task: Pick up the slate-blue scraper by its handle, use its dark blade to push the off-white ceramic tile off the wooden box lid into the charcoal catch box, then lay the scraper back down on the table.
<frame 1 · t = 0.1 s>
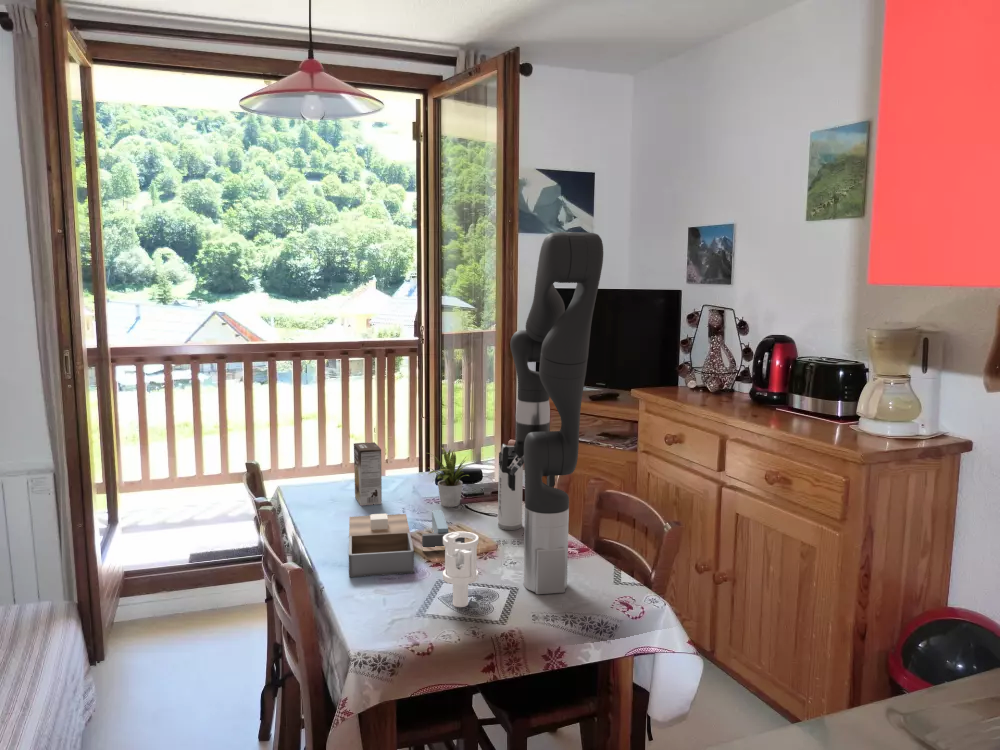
hand: (531, 489, 174), 17 cm above the table, tool pointing down, fingers open, 8 cm apart
white slotted cylindrical fitting: (460, 604, 154), on the table
travel mug: (510, 526, 200), on the table
wooden box lid: (379, 544, 186), on the table
catch box: (380, 564, 173), on the table
coffee box: (368, 501, 221), on the table
tile: (379, 526, 184), point 5 cm above the table, touching wooden box lid
house plant: (446, 503, 219), on the table
scraper: (439, 538, 191), on the table
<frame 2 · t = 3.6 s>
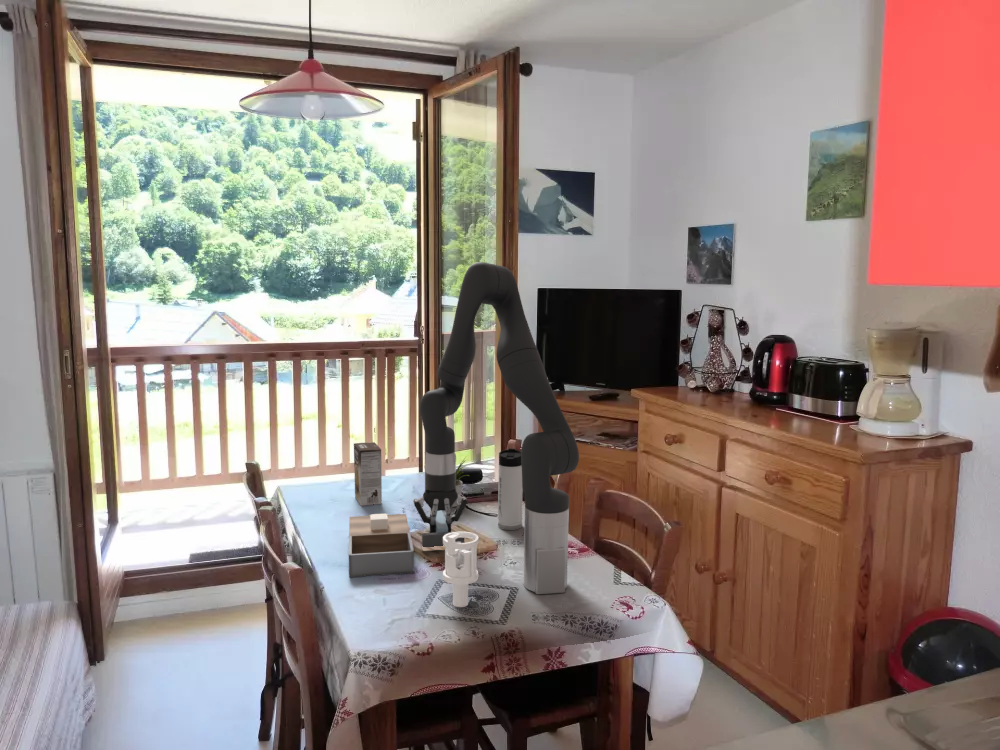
hand: (440, 537, 189), 1 cm above the table, tool pointing down, fingers closed on scraper, 2 cm apart
scraper: (439, 538, 191), on the table, touching gripper
everything else where it was.
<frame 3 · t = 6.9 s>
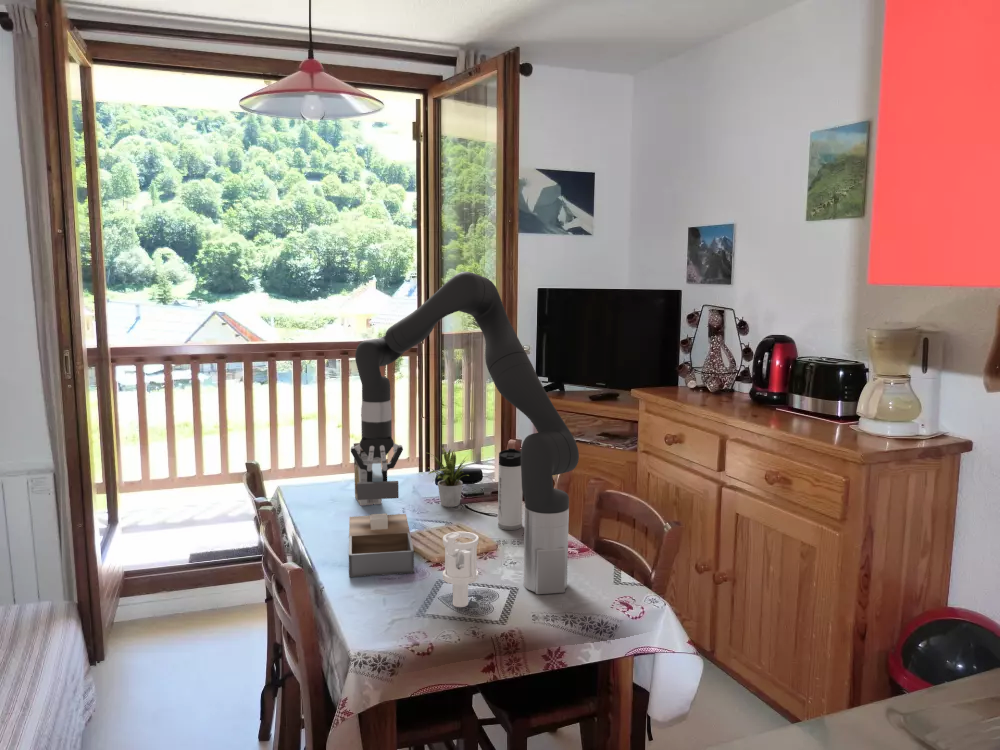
hand: (377, 484, 196), 12 cm above the table, tool pointing down, fingers closed on scraper, 2 cm apart
scraper: (377, 489, 198), point 10 cm above the table, touching gripper
everything else where it was.
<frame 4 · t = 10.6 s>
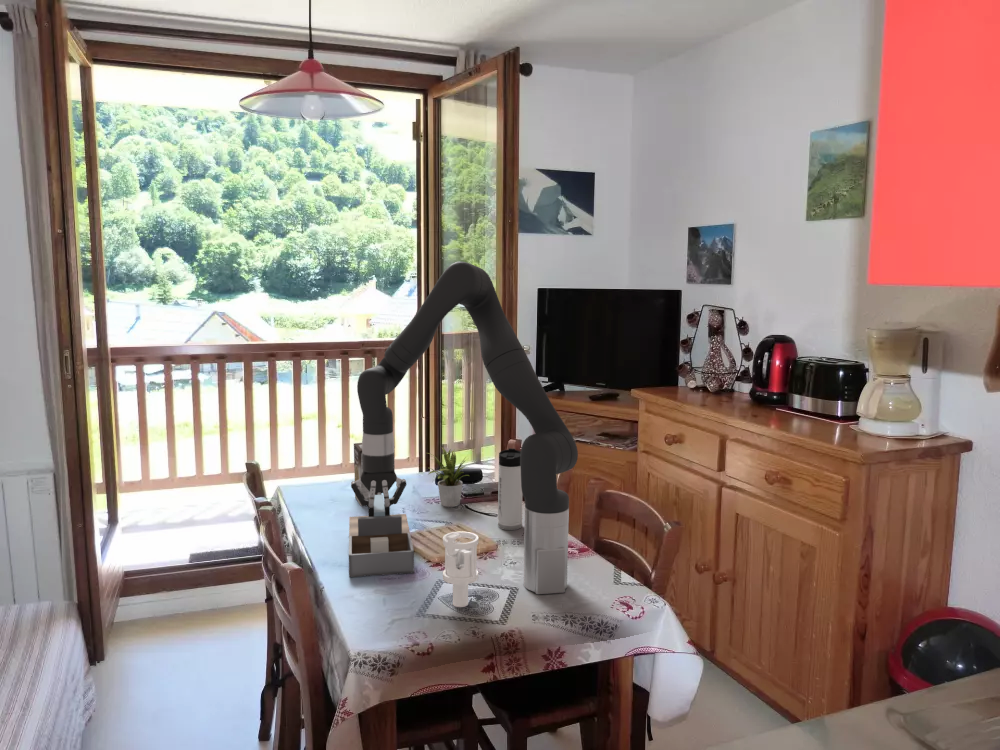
hand: (379, 520, 184), 6 cm above the table, tool pointing down, fingers closed on scraper, 2 cm apart
tile: (379, 545, 178), point 3 cm above the table, tilted 90°, touching catch box
scraper: (379, 523, 186), point 5 cm above the table, touching wooden box lid, gripper
everything else where it was.
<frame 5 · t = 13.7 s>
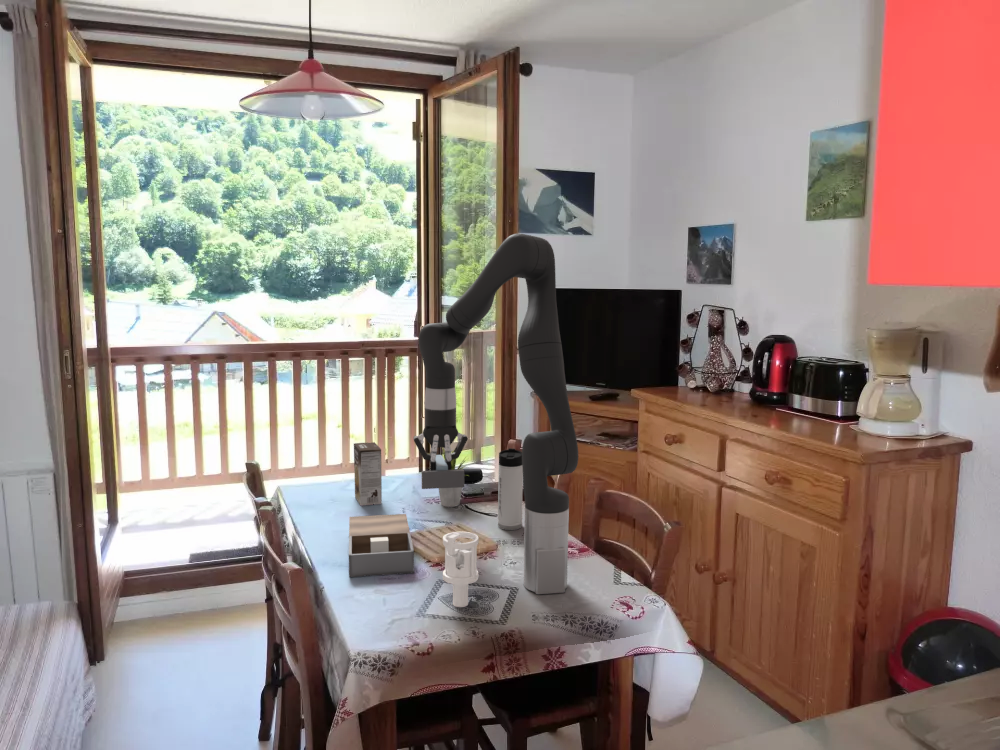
hand: (440, 475, 187), 16 cm above the table, tool pointing down, fingers closed on scraper, 2 cm apart
scraper: (439, 480, 189), point 15 cm above the table, touching gripper
everything else where it was.
when the fingers open (2 cm above the table, at t = 16.5 s): scraper stays where it is, on the table.
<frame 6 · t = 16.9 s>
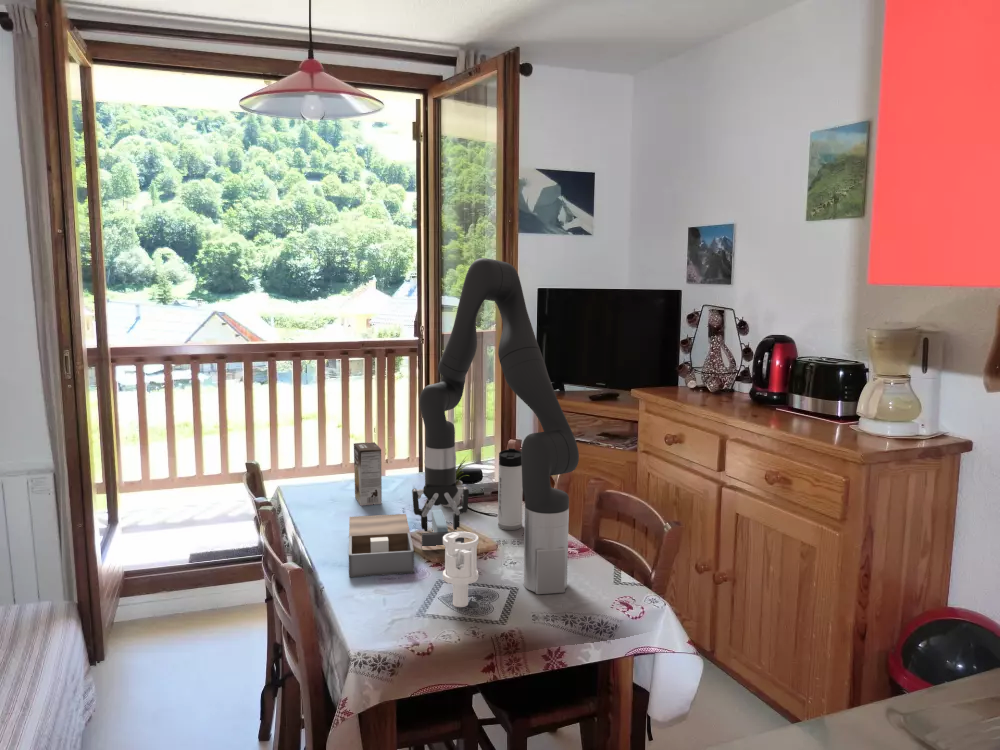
hand: (440, 529, 189), 3 cm above the table, tool pointing down, fingers open, 6 cm apart
scraper: (439, 537, 191), on the table
everything else where it was.
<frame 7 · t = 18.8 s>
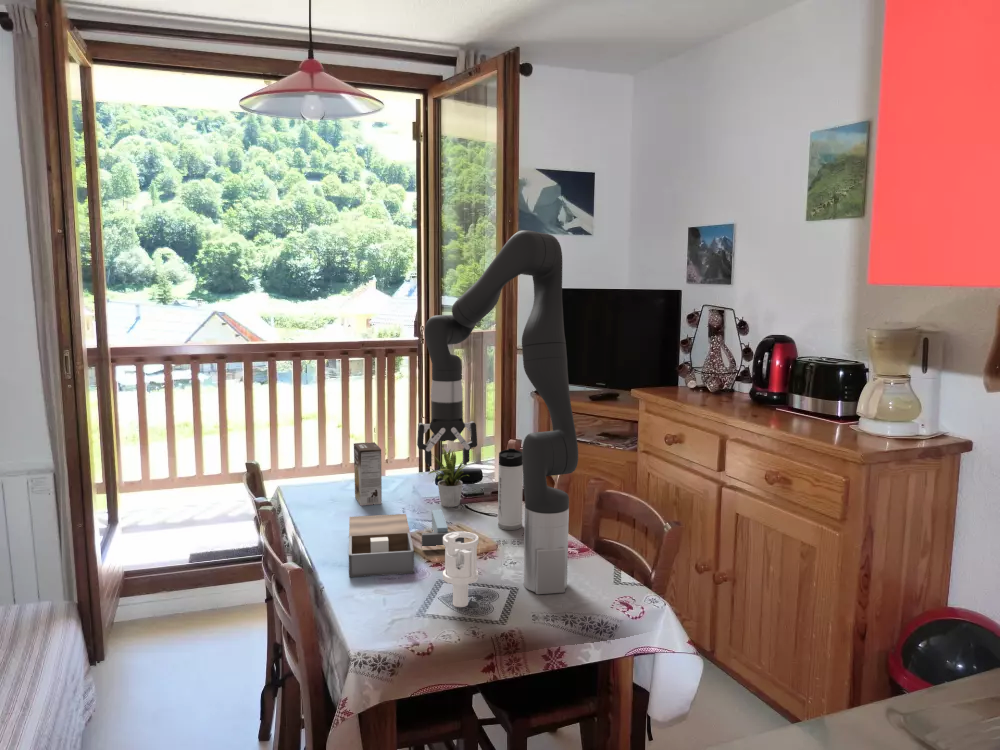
hand: (447, 465, 185), 19 cm above the table, tool pointing down, fingers open, 8 cm apart
nothing on the table moved.
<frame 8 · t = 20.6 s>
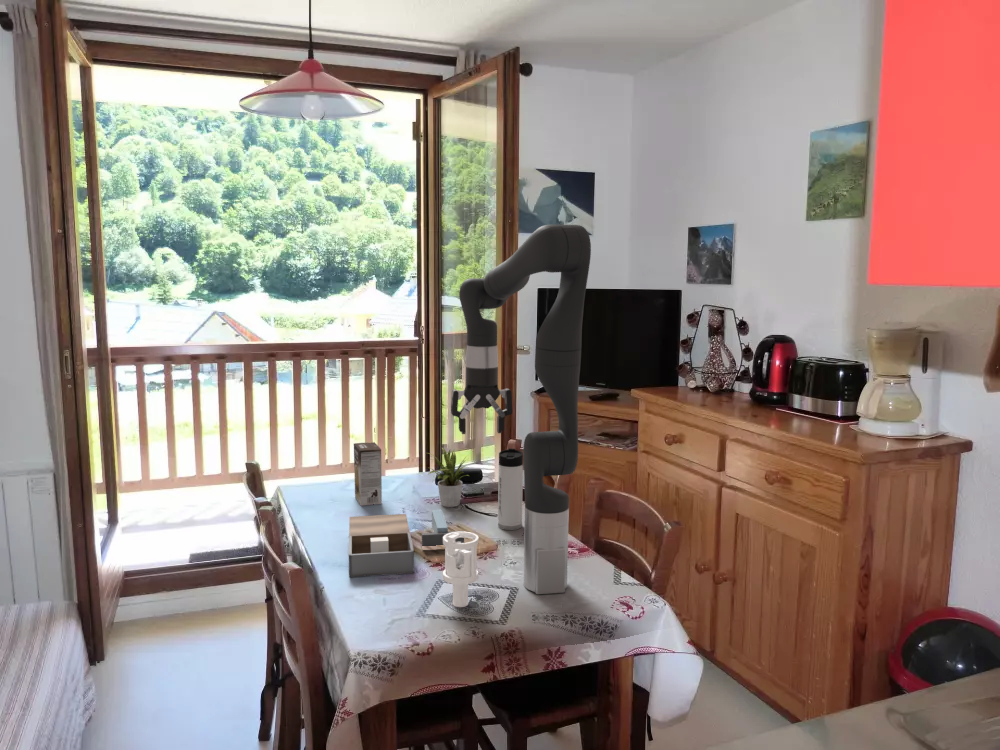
hand: (481, 433, 181), 28 cm above the table, tool pointing down, fingers open, 8 cm apart
nothing on the table moved.
at the end: tile inside the target area on the catch box (5.0 cm from its centre), point 2.6 cm above the catch box's base; scraper inside the target area (0.5 cm from its centre), on the table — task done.
